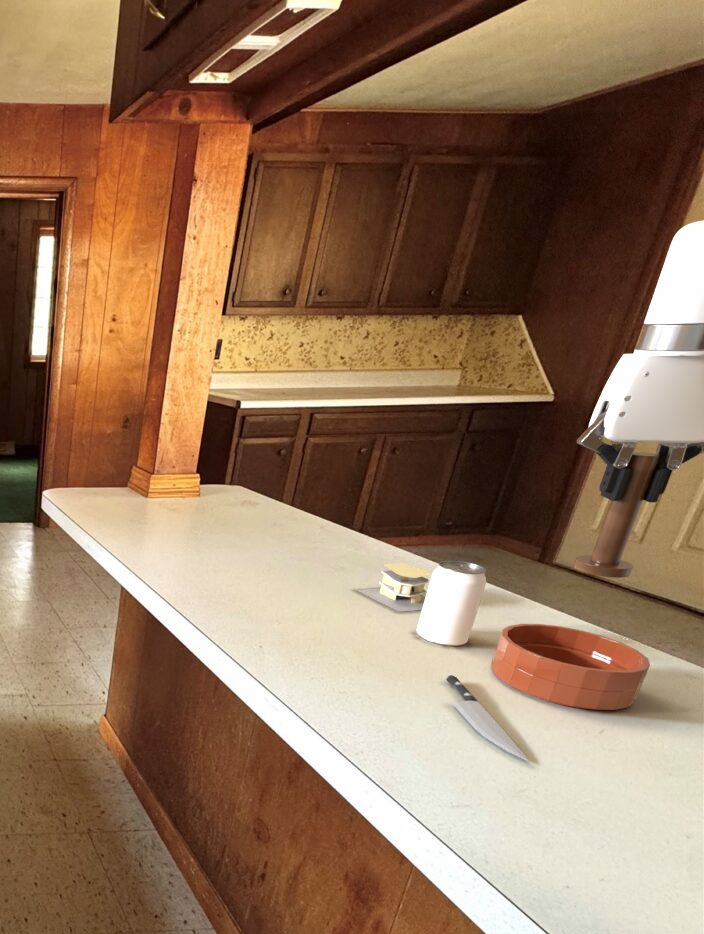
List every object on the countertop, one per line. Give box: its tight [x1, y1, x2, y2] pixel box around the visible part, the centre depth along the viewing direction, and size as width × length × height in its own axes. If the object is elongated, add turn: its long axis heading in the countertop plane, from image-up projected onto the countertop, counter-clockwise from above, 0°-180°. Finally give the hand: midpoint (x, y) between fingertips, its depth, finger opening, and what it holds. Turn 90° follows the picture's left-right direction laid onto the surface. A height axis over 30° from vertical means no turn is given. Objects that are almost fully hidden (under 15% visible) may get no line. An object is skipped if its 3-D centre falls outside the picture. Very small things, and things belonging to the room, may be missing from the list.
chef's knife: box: [445, 674, 530, 762], centre depth 84 cm, size 19×1×3 cm
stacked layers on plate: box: [356, 562, 432, 613], centre depth 118 cm, size 10×9×6 cm
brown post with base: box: [573, 451, 660, 579], centre depth 82 cm, size 5×5×15 cm
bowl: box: [490, 623, 651, 711], centre depth 89 cm, size 14×14×6 cm
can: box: [416, 560, 487, 647], centre depth 102 cm, size 6×6×12 cm
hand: (627, 497), depth 81 cm, fingers closed on brown post with base, 2 cm apart
